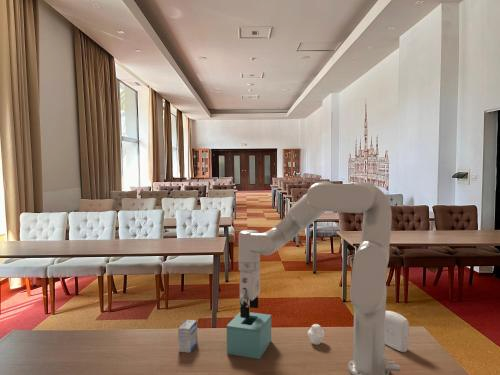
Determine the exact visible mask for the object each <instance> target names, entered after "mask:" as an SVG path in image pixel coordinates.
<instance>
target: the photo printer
mask: <svg viewBox="0 0 500 375" xmlns="http://www.w3.org/2000/svg"><path fill="white" fill-rule="evenodd" d="M409 333H410V322H409V320H408V319H407V318H406V317H405V316H403V315H402V314H400V313H398V312H396V311H392V310H386V315H385V346H388V347H390V348H392V349H394V350H396V351H398V352H401V353H406V352H407V351H408V349H409V336H410V335H409Z"/></svg>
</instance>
